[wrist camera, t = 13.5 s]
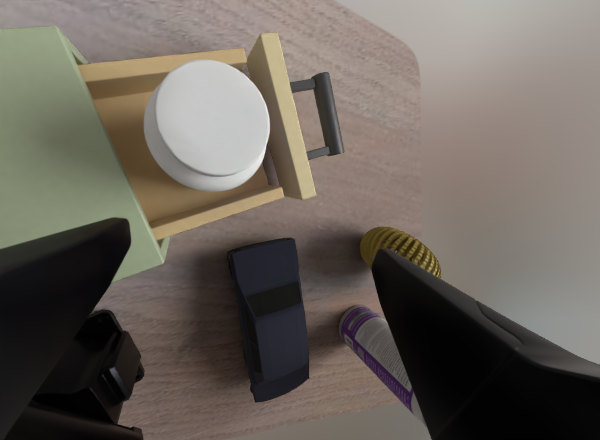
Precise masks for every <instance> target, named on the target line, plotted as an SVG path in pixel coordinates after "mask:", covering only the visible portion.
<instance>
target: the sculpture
mask: <svg viewBox="0 0 600 440" xmlns="http://www.w3.org/2000/svg"><path fill="white" fill-rule="evenodd" d="M414 239H415V238H414V237H412V236H410V235H409V234H407V233H405V232H403V231H400V230H398V229H395V228H390V227H377V228H374V229H371V230H370V231H368V232H367V233H366V234H365V235H364V236H363V238H362V240H361V243H360V253H361V256H362V258H363V260H364V262H365V263H366V264H367V266H368V267H370V269H371V266H372V263H373V260H374V258H375V256H376V253H377V251H378V250H379V249H380V248H385V249H390V250H392V251H394V252H395V251H396V250H397V252H396V253H397V254H399V255H401V256H402V257H404V258H406V259H407V260H408V259H409V261H411V262H412V263H414V264H416V265H418V266H419V267H421V268H423V269H424V270H426V271H428V272H429V273H431V274H433V275H435V276H436V277H438V278H441V268H440V265H439V263H438V260H437V259H436V257H435V256H434V255H433V253H432V252H431V251H430V250H429V249H428V248H427V247H426V246H425V245H423V244H422V243H421V242H420V241H418V240H417V239H415V240H414Z"/></svg>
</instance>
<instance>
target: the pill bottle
mask: <svg viewBox="0 0 600 440" xmlns="http://www.w3.org/2000/svg"><path fill="white" fill-rule="evenodd" d="M269 132H270V119H269V114H268V109H267V106H266V103H265V101H264V99H263V97H262V95H261V93H260V92H259V90H258V89H257V87H256V86H255V85H254V83H253V82H252V81H251V80H250V79H249V78H248V77H247V76H245V75H244V74H243V73H241V72H240V71H239V70H237V69H236V68H234V67H232V66H230V65H228V64H225V63H222V62H219V61H214V60H206V59H205V60H193V61H189V62H186V63H184V64H182V65H180V66H178V67H176V68H175V69H173V70H172V71H171V72H170V73H169V74H168V75H167V76H166V77H165V78H164V80H163V81H162V83H161V84H160V85H159V86H158V87H157V88H156V89H155V90H154V92H153V93H152V94H151V96H150V98H149V100H148V102H147V105H146V109H145V114H144V134H145V139H146V142H147V145H148V148H149V150H150V152H151V154H152V156H153V157H154V159H155V161H156V162H157V163H158V165H159V166H160V167H161V168H162V169H163V170H164V171H165V172H166V173H167V174H168V175H169V176H170V177H172V178H173V179H174V180H176V181H177V182H179V183H181V184H183V185H185V186H187V187H189V188H192V189H195V190H200V191H206V192H219V191H225V190H229V189H233V188H235V187H237V186H239V185H241V184H243V183H244V182H246V181H247V180H248V179H249V178H251V177H252V176H253V174H254V173H255V172H256V171H257V169H258V168H259V166H260V165H261V163H262V161H263V158H264V155H265V151H266V144H267V142H268V138H269Z"/></svg>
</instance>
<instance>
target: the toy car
mask: <svg viewBox="0 0 600 440" xmlns="http://www.w3.org/2000/svg"><path fill="white" fill-rule="evenodd" d="M285 239H287V240H285ZM252 245H253V246H252ZM252 245H248V246H249V247H248V246H244V247H240V248H237V249H239V250H237V249H234V250H237V251H234V250H231V251H232V252H231V251H228V254H229V256H230V258H229V260H228V257H227V260H228V263H229V269H230V274H231V278H232V281H233V283H234V289H235V293H236V298H237V304H238V311H239V318H240V324H241V331H242V337H243V343H244V348H243V352H244V357H245V361H246V365H247V368H248V373H249V378H250V383H251V386H250V390H251V393H253V396H254V400H255V403H256V402H263V401H267V400H271V399H274V398H277V397H279V396H281V395H284V394H286V393H288V392H290V391H291V390H293V389H295V388H297V387H298V386H300V385H301V384H302V383H304V382H305V381H306V380H307V379H308V378H309V348H308V338H307V329H306V320H305V312H304V305H303V299H302V292H301V283H300V277H299V264H298V256H297V250H296V244H295V239H293V238H282V239H276V240H270V241H266V242H261V243H257V244H252ZM245 247H246V248H245ZM241 248H242V249H241Z"/></svg>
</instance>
